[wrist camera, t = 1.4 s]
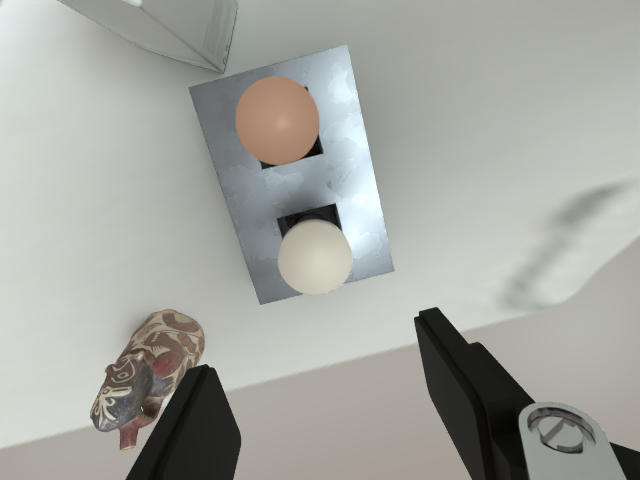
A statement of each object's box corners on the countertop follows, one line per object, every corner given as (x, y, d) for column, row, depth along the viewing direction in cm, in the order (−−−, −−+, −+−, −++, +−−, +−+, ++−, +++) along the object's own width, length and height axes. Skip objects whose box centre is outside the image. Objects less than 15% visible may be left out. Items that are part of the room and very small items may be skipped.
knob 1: (307, 91, 26) (307, 66, 19) (322, 153, 28) (328, 153, 20) (247, 107, 26) (224, 89, 19) (265, 168, 28) (250, 173, 20)
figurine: (190, 301, 35) (132, 375, 23) (215, 357, 37) (173, 452, 25) (127, 320, 35) (39, 403, 23) (155, 375, 37) (85, 476, 25)
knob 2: (333, 199, 29) (343, 215, 21) (346, 252, 30) (359, 285, 23) (278, 214, 29) (268, 234, 21) (293, 266, 30) (289, 302, 23)
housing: (339, 65, 30) (347, 44, 24) (379, 251, 34) (394, 271, 28) (211, 100, 30) (188, 87, 24) (268, 279, 34) (260, 304, 29)
